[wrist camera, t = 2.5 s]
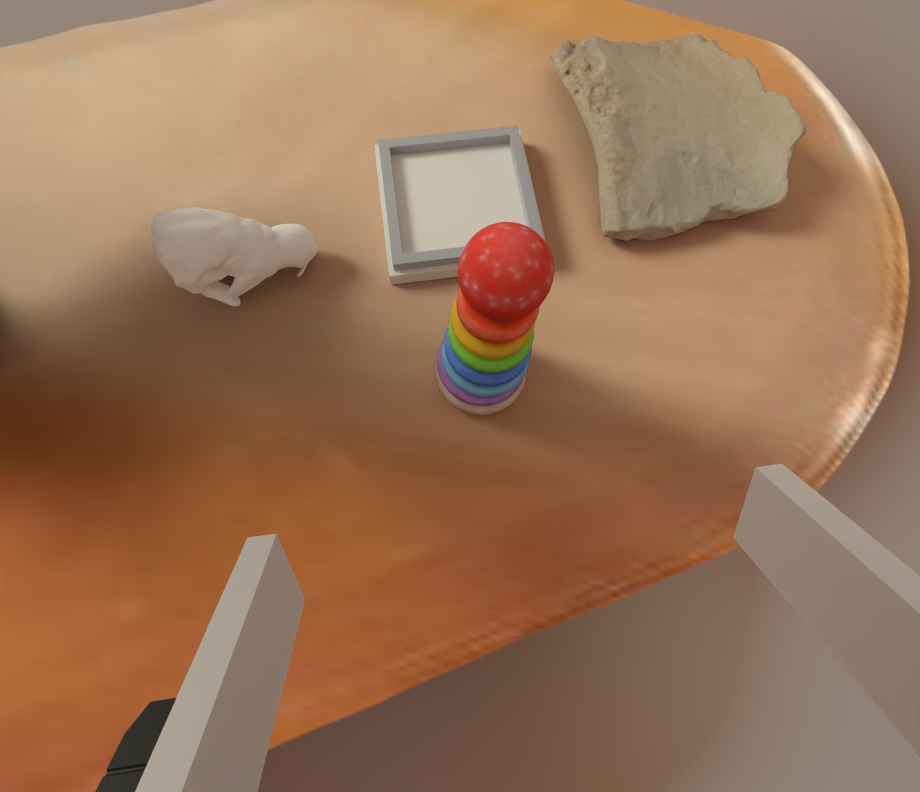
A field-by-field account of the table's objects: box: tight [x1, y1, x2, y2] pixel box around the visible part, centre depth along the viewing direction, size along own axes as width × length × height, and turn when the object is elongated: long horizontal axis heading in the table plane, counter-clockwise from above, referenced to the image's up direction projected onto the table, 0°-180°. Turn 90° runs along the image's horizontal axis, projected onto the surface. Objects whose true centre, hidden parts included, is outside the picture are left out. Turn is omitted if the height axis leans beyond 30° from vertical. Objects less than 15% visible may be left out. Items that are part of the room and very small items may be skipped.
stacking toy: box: [436, 222, 554, 415], centre depth 29 cm, size 8×8×19 cm
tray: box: [374, 126, 546, 285], centre depth 41 cm, size 15×15×2 cm
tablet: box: [550, 33, 806, 241], centre depth 42 cm, size 24×8×20 cm
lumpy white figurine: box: [151, 207, 317, 307], centre depth 37 cm, size 6×8×12 cm
